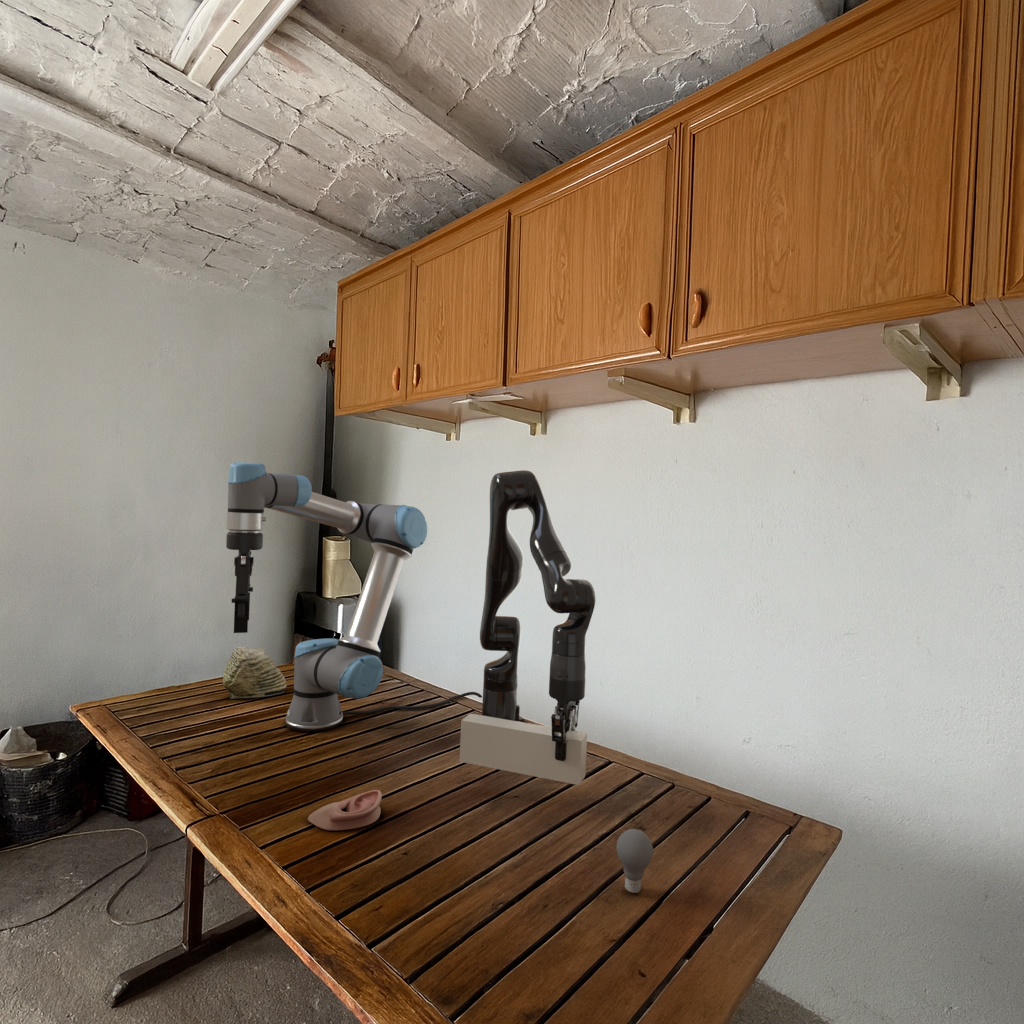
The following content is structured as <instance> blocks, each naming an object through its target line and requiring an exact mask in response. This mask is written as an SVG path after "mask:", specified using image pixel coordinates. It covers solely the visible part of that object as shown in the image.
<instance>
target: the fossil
mask: <svg viewBox="0 0 1024 1024" xmlns="http://www.w3.org/2000/svg"><path fill="white" fill-rule="evenodd" d="M222 676H223V677H222V685H223V687H224V688H225V690H226V691H228V693H229V698H230V699H250V698H264V697H271V696H275V695H281V694H284V693H285V691H286V689H287V687H288V686H287V680H286V678H285V676H284V674H283V673H282V672H281V669H279V668H278V667H277V665H276V663H275V662H274V660H273V659H272V658H271V657H270V656H269V655H268V654H267V653H266V652H265V650H264V649H263V648H260V647H258V648H251V647H247V646H246V647H245V646H238V647H237V648H236V649H235V650H233V651H232V653H231V656H230V657H229V659H228V660H227V663H226V666H225V668H224V671H223V675H222Z"/></svg>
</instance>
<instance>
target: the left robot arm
mask: <svg viewBox="0 0 1024 1024" xmlns="http://www.w3.org/2000/svg"><path fill="white" fill-rule="evenodd" d="M312 489H313V488H312V483H311V481H310V479H309V478H307V476H305V475H300V474H296V473H269V472H267V470H266V465H265V464H263V463H259V462H245V461H244V462H242V461H236V462H232V463H231V464H230V466H229V471H228V479H227V511H226V530H227V531H229V532H227V533H226V539H225V543H226V544H225V547H226V549H227V550H231V551H238V555H237V556H234V559H233V565H234V576H235V578H236V579H235V593H234V594H235V595H234V597H233V598H231V604H234V614H233V634H245V633H246V634H247V633H248V631H249V630H248V629H249V621H250V605H251V604H250V603H251V602H250V601H251V593H253V592H254V587H253V586H251V577H252V574H253V567H254V562H255V560H254V559H255V557H254V556H252V551H259V550H262V549H263V547H264V534H263V533H262V532H261V531H263V530H264V523H263V522H267V517H265V516H264V513H265V508H266V509H269V510H272V511H276V512H279V513H283V514H287V515H290V516H294V517H298V518H301V519H305V520H307V521H312V522H315V523H319V524H323V525H325V526H330V527H333V528H337V530H338V531H339V532H340V533H342V534H344V535H348V536H351V537H355V538H357V539H360V540H362V541H364V542H365V541H366V542H368V543H371V544H370V545H371V547H372V549H373V556H372V559H371V561H370V564H369V567H368V570H367V573H366V576H365V579H364V582H363V584H362V586H361V587H362V589H361V590H360V594H359V596H358V600H357V602H356V606H355V608H354V611H353V614H352V617H351V620H350V622H349V626H348V630H347V632H346V634H345V635H344V636H342V637H341V638H339V639H338V638H331V637H329V638H317V639H316V638H315V639H308V640H304V641H301V642H299V643H298V644H297V645H296V646H295V650H294V651H295V652H294V656H293V658H294V670H293V671H294V672H293V695H292V696H293V697H292V699H291V702H290V704H289V708H288V709H287V713H286V715H285V726H286V728H287V729H289V730H291V731H294V732H295V731H296V732H301V733H316V732H325V731H329V730H332V729H335V728H337V727H339V726H340V725H342V723H343V722H344V716H351V715H368V714H369V715H370V714H375V713H379V712H383V711H389V710H390V711H391V710H407V711H408V710H411V711H412V710H413V711H414V710H424V709H425V710H426V709H432V708H436V707H440V706H443V705H446V704H448V703H450V702H451V701H454V700H457V699H461V698H464V697H468V696H476V697H478V698H479V699H480V698H482V699H483V695H482V694H481V693H478V692H477V691H468V692H464V693H461V694H458V695H454V696H451V697H448V698H447V699H445V700H444V701H440V702H436V703H430V704H426V705H424V704H423V705H410V706H408V705H390V706H383V707H379V708H373V709H368V710H350V711H349V710H348V711H343V709H342V706H341V702H340V699H339V695H340V696H342V697H345V698H348V699H355V700H359V699H365V698H367V697H368V696H369V695H370V694H372V693H374V692H375V691H376V690H377V688H378V687H379V685H380V684H381V681H382V679H383V675H384V668H383V662H382V660H381V659H380V655H381V649H380V647H379V645H378V642H379V640H380V636H381V633H382V630H383V627H384V624H385V621H386V618H387V615H388V611H389V608H390V606H391V602H392V599H393V597H394V593H395V590H396V587H397V584H398V580H399V578H400V575H401V572H402V568H403V565H404V562H405V561H407V560H408V559H410V558H412V555H413V552H414V549H417V548H420V547H421V545H423V544H424V543H425V541H426V539H427V536H428V523H427V520H426V517H425V515H424V513H423V512H422V511H421V510H420V509H419V508H417V507H415V506H412V505H411V506H410V505H406V504H401V505H400V504H381V503H361V502H356V501H354V500H347V501H343V500H339V499H336V498H333V497H330V496H326V495H323V494H320V493H318V492H314V491H312Z"/></svg>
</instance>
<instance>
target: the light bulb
mask: <svg viewBox="0 0 1024 1024" xmlns="http://www.w3.org/2000/svg"><path fill="white" fill-rule="evenodd" d="M615 849H616V854H617V857H618V859H619V861H620V863H621V865H622V867H623V873H624V874H623V875H624V876H625V878H624V888H625V890H627V891H628V892H630V893H634V894H635V893H639V892H640V891H641V889H642V887H641V886H642V879H643V877H644V875H645V871H646V868H647V867H648V866H649V864H650V863H651V861H652V859H653V855H654V847H653V843H652V841H651V838H649V836H648V835H647V834H646V833H645V832H643V831H642V830H641V829H636V828H629V829H627V830H625V831H623V832H622V833H621V834H620V835H619V837H618V839H617V841H616V847H615Z"/></svg>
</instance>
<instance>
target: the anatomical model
mask: <svg viewBox="0 0 1024 1024" xmlns="http://www.w3.org/2000/svg"><path fill="white" fill-rule="evenodd" d="M382 799H383V795H382V791H381V790H380V789H372V790H368V791H365V792H362V793H358V794H355V795H353V796H351V797H349V798H346V799H343V800H341V801H336V802H331V803H327V804H325V805H323V806H321V807H319V808H318V809H316V810H315V811H313V812H311V813H310V814H309V815H308V817H307V821H308V822H309V823H311V824H313V825H314V826H316V827H317V828H320V829H322V830H325V831H344V830H345V831H347V830H352V829H353V830H354V829H359V828H362V827H365V826H368V825H371V824H373V823H375V822H376V821H378V820H379V818H380V815H381V807H380V805H381V802H382Z"/></svg>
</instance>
